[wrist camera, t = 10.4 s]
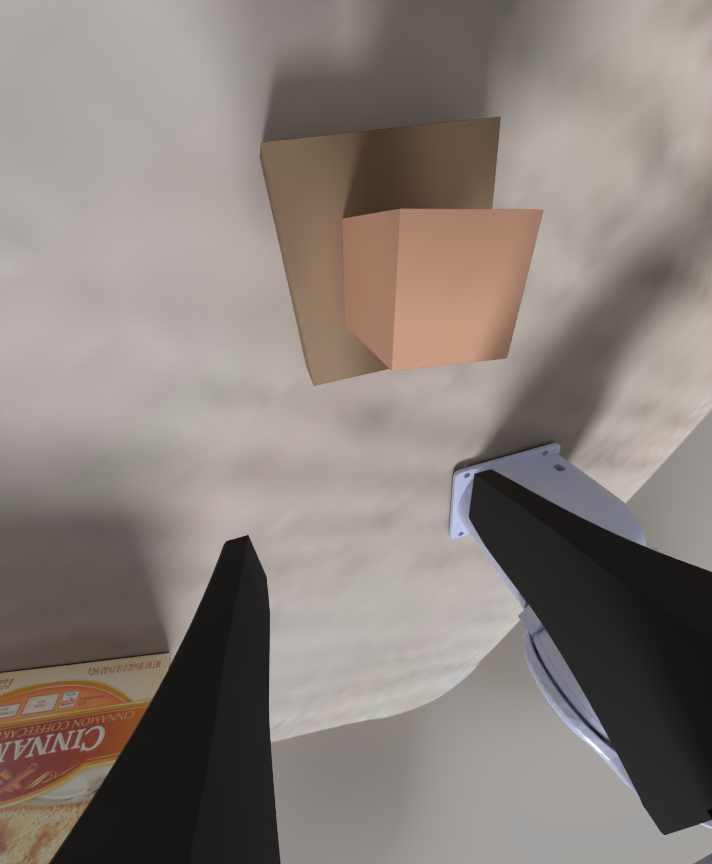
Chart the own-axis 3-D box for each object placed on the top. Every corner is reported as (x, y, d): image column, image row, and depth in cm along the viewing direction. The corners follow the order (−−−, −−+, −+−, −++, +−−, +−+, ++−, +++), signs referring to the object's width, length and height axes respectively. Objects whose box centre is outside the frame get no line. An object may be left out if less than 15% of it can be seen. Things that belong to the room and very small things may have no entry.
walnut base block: (458, 136, 15) (500, 116, 12) (450, 333, 20) (479, 348, 17) (259, 158, 13) (261, 142, 11) (305, 365, 18) (313, 386, 16)
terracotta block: (436, 218, 13) (543, 209, 8) (425, 318, 15) (507, 358, 10) (342, 218, 12) (400, 208, 8) (345, 324, 15) (391, 371, 10)
